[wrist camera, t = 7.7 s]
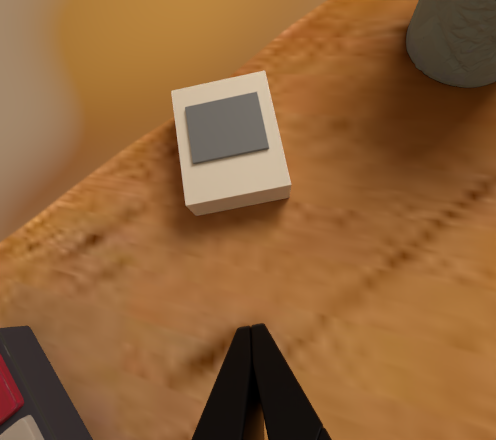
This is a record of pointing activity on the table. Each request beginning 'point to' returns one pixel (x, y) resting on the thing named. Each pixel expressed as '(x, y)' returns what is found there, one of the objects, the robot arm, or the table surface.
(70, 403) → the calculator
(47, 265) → the table surface
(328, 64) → the table surface
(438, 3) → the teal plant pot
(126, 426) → the table surface
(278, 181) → the white box grey panel
